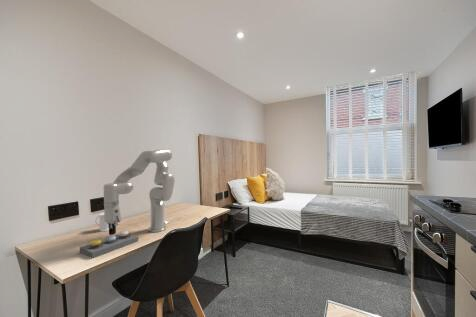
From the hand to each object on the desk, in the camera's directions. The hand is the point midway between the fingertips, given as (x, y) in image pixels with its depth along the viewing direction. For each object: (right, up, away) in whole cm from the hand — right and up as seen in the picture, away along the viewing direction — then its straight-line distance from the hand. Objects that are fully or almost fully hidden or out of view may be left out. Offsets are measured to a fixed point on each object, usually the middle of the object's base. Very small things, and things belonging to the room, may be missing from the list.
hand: (112, 233), depth 121 cm
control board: (0, -7, -1) cm, 7 cm away
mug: (-25, -8, +29) cm, 39 cm away
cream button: (+4, -3, +6) cm, 8 cm away
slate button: (0, -4, -1) cm, 4 cm away
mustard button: (-4, -3, -8) cm, 9 cm away
